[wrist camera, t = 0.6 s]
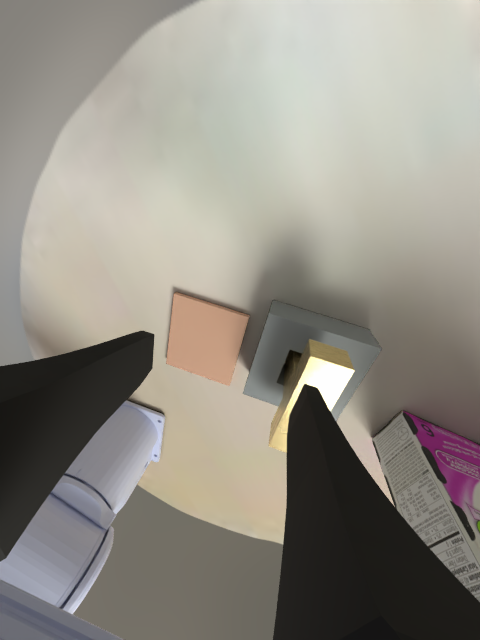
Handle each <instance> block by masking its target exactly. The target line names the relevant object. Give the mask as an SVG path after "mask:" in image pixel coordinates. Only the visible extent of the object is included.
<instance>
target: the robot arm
mask: <svg viewBox="0 0 480 640" xmlns="http://www.w3.org/2000/svg"><path fill="white" fill-rule="evenodd" d="M153 347H154V334H152V333H148V332H145V331H139V332H135V333H132V334H129V335H126V336H122V337H119V338H116V339H113V340H110V341H107V342H104V343H101V344H98V345H94V346H91V347H87V348H84V349H80V350H77V351H73V352H70V353H66V354H62V355H58V356H53V357H49V358H44V359H40V360H35V361H30V362H25V363H19V364H12V365H6V366H0V640H124V639H122V638H120V637H118V636H116V635H114V634H112V633H110V632H108V631H106V630H104V629H102V628H100V627H98V626H95V625H93V624H91V623H89V622H87V621H85V620H83V619H81V618H79V617H77V616H75V615H73V613H74V611H75V610H76V609H77V607H78V606H79V605H80V603H81V602H82V600H83V599H84V597H85V596H86V594H87V593H88V591H89V590H90V588H91V587H92V585H93V583H94V582H95V580H96V578H97V576H98V575H99V573H100V571H101V569H102V567H103V565H104V563H105V561H106V559H107V557H108V555H109V553H110V550H111V548H112V545H113V535H114V529H113V527H111V526H110V525H111V523H112V521H113V520H114V518H115V516H116V513H118V511H119V510H121V508H122V507H123V506H124V505H125V503H126V502H127V500H128V498H129V497H130V495H131V493H132V492H133V490H134V488H135V486H136V485H137V483H138V481H139V480H140V478H141V476H142V475H143V473H144V471H145V470H146V468H147V466H148V465H149V463H150V461H151V460H152V461H154V462H158V461H159V459H160V453H161V445H162V437H163V429H164V421H165V416H164V415H163V414H161V413H159V412H156V411H153V410H151V409H148V408H145V407H143V406H140V405H137V404H135V403H132V402H130V401H127V399H128V398H129V397H130V396H131V395H132V393H133V392H134V391H135V390H136V389H137V388H138V387H139V386H140V385H141V383H142V382H143V381H144V379H145V378H146V376H147V375H148V374H149V372H150V371H151V369H152V364H153ZM273 640H480V602H479V601H478V600H477V599H476V598H475V597H474V596H473V594H472V593H471V592H470V591H469V590H468V589H467V588H466V587H465V586H464V585H463V584H462V583H461V582H460V581H459V580H458V579H457V578H456V577H455V576H454V575H453V574H452V572H451V571H450V570H449V569H448V568H447V567H446V566H445V565H444V564H443V563H442V561H441V560H440V559H439V558H438V557H437V556H436V555H435V554H434V553H433V551H432V550H431V549H430V548H429V547H428V546H427V545H426V544H425V542H424V541H423V540H422V539H421V538H420V537H419V536H418V534H417V533H416V532H415V531H414V530H413V529H412V527H411V526H410V525H409V524H408V523H407V521H406V520H405V519H404V518H403V517H402V515H401V514H400V513H399V512H398V510H397V509H396V508H395V507H394V506H393V504H392V503H391V502H390V501H389V499H388V498H387V497H386V495H385V494H384V493H383V492H382V490H381V489H380V488H379V486H378V485H377V483H376V482H375V481H374V479H373V478H372V477H371V475H370V474H369V473H368V471H367V470H366V468H365V467H364V466H363V464H362V463H361V461H360V460H359V458H358V457H357V455H356V454H355V452H354V450H353V449H352V447H351V446H350V444H349V443H348V441H347V439H346V438H345V436H344V434H343V433H342V431H341V429H340V428H339V426H338V424H337V422H336V421H335V419H334V417H333V415H332V413H331V412H330V410H329V408H328V406H327V404H326V402H325V400H324V398H323V396H322V395H321V393H320V391H319V389H318V388H317V387H314V386H311V385H308V384H305V383H304V385H303V387H302V389H301V391H300V393H299V395H298V398H297V400H296V402H295V404H294V406H293V408H292V411H291V413H290V415H289V422H288V431H287V508H286V520H285V533H284V544H283V555H282V565H281V575H280V585H279V593H278V602H277V611H276V620H275V628H274V636H273Z"/></svg>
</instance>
